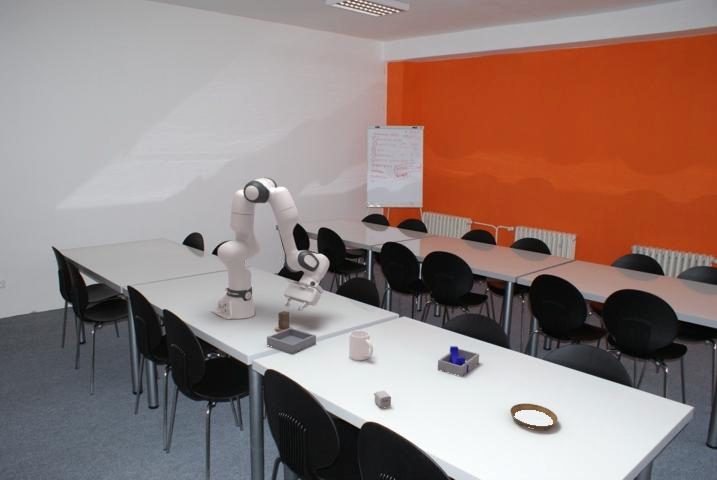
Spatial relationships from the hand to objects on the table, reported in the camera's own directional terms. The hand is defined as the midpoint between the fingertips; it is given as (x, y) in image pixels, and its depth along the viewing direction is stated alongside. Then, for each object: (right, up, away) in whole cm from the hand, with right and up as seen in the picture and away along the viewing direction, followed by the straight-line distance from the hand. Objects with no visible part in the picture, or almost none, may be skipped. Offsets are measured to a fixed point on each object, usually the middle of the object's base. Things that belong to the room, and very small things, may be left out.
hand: (293, 308), depth 254 cm
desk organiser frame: (+71, -19, -37) cm, 83 cm away
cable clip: (+71, -19, -37) cm, 83 cm away
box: (+2, -13, -19) cm, 23 cm away
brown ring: (+88, -27, -78) cm, 121 cm away
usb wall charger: (+39, -24, -69) cm, 82 cm away
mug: (+32, -17, -32) cm, 48 cm away
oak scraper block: (-4, -10, -2) cm, 11 cm away
